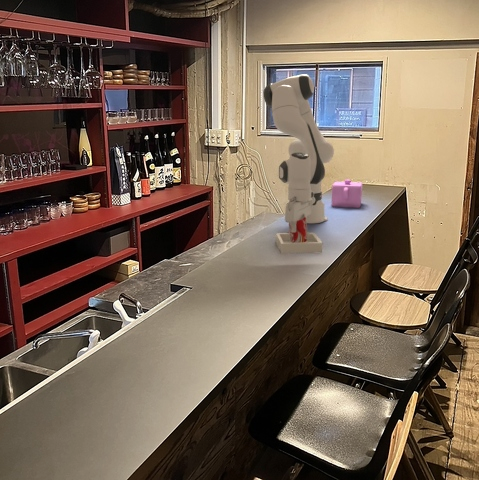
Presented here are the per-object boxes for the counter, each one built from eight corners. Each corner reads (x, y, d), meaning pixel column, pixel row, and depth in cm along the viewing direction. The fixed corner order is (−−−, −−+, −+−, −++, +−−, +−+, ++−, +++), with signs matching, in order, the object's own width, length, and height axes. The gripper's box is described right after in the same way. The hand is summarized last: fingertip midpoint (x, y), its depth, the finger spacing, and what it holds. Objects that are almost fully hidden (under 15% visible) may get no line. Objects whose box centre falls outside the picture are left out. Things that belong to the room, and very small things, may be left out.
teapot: (362, 201, 306) (363, 176, 302) (358, 209, 283) (360, 183, 279) (335, 199, 310) (336, 175, 307) (330, 208, 287) (331, 182, 283)
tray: (275, 242, 220) (275, 233, 219) (313, 241, 221) (314, 232, 220) (281, 253, 205) (281, 243, 204) (322, 252, 206) (322, 242, 205)
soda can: (304, 246, 211) (303, 221, 204) (287, 244, 214) (285, 219, 207) (310, 236, 216) (308, 212, 209) (293, 234, 219) (291, 209, 212)
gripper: (296, 200, 197) (295, 236, 200) (315, 192, 215) (314, 225, 218) (281, 198, 200) (280, 234, 203) (301, 191, 217) (300, 224, 221)
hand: (298, 229), depth 211 cm, fingers open, 7 cm apart
